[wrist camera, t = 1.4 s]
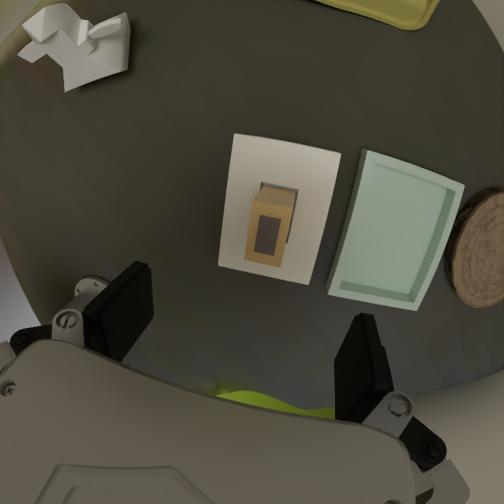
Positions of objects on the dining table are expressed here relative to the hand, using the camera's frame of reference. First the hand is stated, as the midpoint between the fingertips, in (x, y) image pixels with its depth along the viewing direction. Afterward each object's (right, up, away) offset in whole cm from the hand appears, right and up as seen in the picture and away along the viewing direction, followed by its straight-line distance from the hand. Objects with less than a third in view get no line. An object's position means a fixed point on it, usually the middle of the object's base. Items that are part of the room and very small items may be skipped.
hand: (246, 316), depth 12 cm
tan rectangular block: (+3, +7, +17) cm, 18 cm away
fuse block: (+3, +8, +17) cm, 19 cm away
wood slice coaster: (+32, +4, +14) cm, 35 cm away
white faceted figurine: (-18, +28, +13) cm, 35 cm away
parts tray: (+16, +5, +16) cm, 23 cm away
